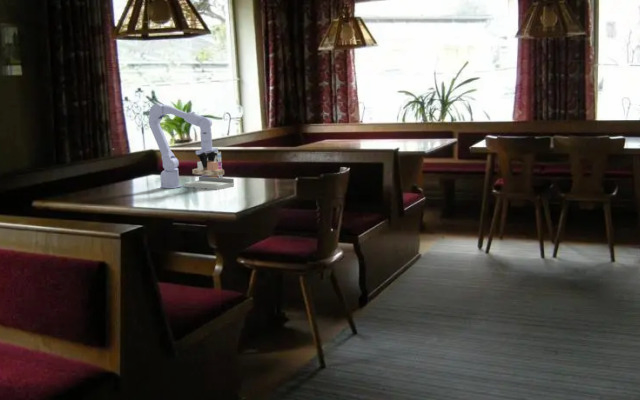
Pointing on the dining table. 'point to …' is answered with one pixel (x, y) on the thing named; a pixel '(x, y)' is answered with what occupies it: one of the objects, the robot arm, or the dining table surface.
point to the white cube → (200, 165)
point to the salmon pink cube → (212, 165)
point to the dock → (211, 183)
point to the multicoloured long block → (208, 171)
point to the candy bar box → (219, 160)
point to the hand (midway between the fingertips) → (207, 166)
